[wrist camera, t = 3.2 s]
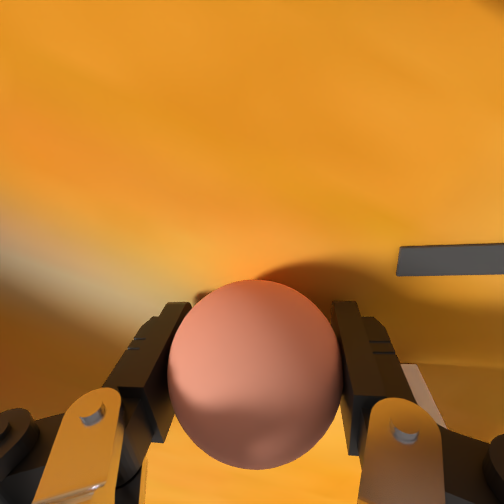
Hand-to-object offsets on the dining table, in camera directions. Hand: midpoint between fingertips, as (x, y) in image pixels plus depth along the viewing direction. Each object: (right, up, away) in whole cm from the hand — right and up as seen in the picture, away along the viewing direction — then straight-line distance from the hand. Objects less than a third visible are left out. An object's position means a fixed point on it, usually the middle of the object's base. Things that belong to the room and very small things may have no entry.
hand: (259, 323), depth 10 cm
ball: (0, 0, +1) cm, 1 cm away
